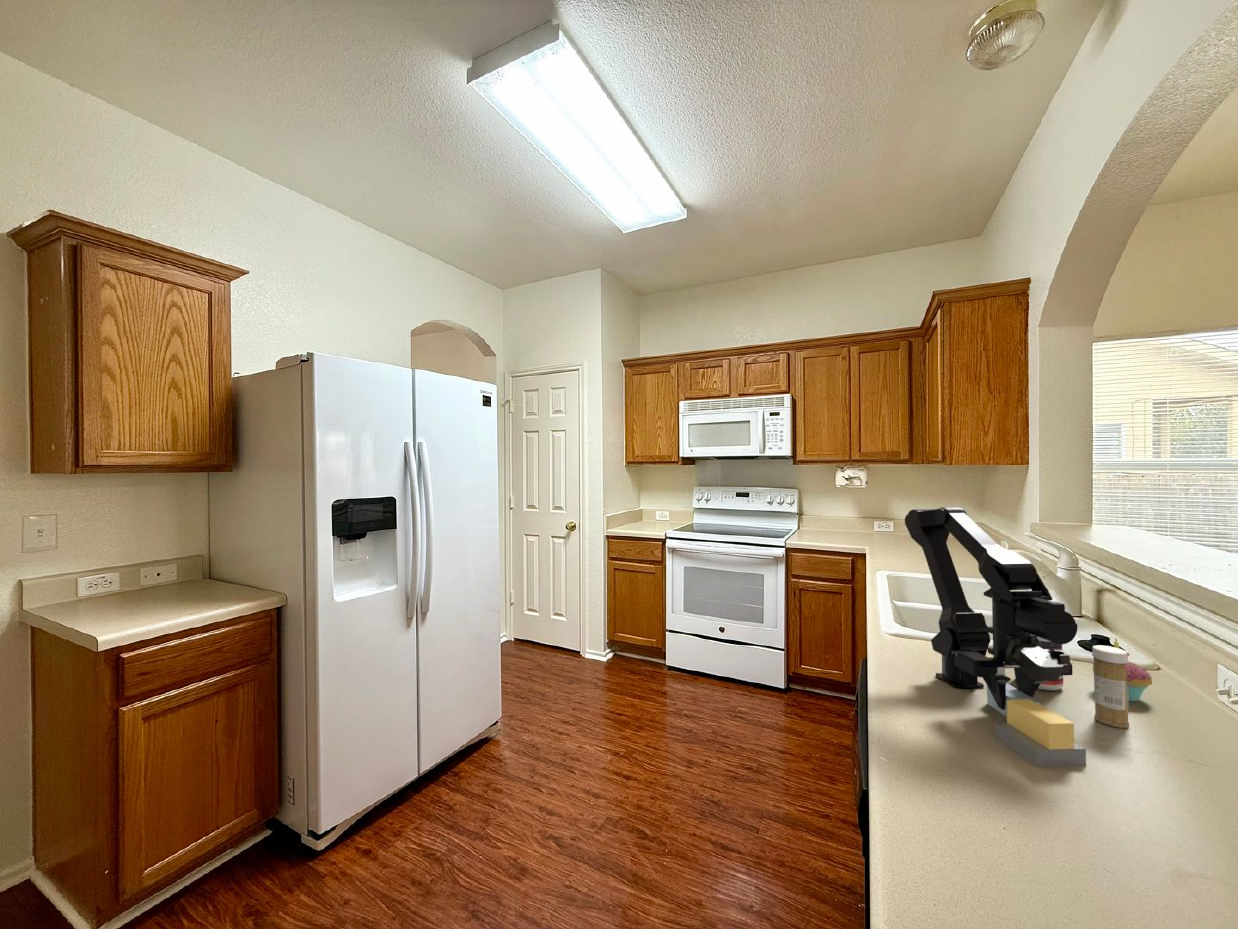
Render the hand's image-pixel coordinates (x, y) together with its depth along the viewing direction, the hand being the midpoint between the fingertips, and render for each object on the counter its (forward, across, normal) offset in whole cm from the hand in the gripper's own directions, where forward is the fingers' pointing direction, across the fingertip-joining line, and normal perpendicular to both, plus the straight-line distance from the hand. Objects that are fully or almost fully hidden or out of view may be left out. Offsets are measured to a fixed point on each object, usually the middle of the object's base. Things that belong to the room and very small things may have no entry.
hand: (1013, 708), depth 93 cm
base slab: (+2, -6, -12) cm, 14 cm away
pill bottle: (+1, +16, +12) cm, 20 cm away
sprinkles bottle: (+1, +15, -4) cm, 16 cm away
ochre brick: (-2, -6, -12) cm, 13 cm away
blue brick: (+1, 0, 0) cm, 1 cm away
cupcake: (+1, +28, +6) cm, 29 cm away
